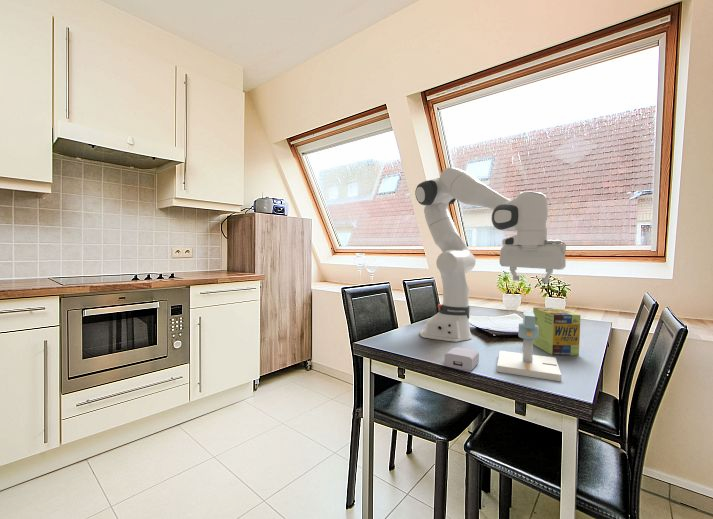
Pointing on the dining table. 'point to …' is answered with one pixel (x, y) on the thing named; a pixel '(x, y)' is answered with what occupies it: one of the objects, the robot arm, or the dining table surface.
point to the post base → (528, 363)
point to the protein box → (557, 331)
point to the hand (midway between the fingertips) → (530, 281)
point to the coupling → (528, 326)
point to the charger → (461, 358)
